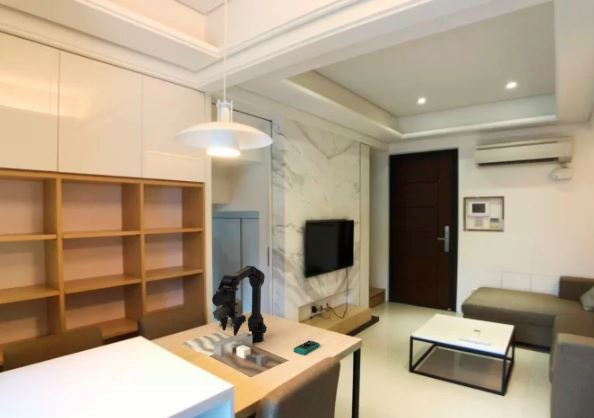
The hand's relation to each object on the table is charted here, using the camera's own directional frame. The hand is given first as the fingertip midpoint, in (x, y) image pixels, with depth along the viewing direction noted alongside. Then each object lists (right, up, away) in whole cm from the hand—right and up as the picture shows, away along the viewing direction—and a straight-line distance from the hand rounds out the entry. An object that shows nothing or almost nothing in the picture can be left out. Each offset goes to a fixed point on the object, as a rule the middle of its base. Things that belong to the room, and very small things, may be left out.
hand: (229, 333), depth 170 cm
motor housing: (0, -14, +10) cm, 17 cm away
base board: (0, -14, +10) cm, 17 cm away
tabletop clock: (-9, -14, +50) cm, 52 cm away
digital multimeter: (+38, -15, +16) cm, 44 cm away
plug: (+11, -13, 0) cm, 17 cm away
